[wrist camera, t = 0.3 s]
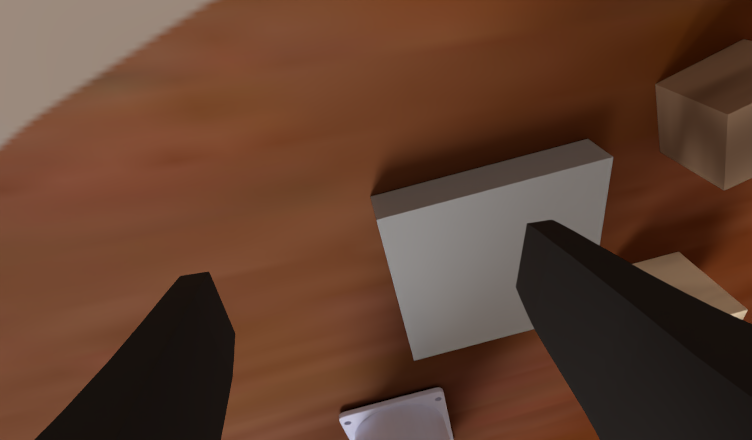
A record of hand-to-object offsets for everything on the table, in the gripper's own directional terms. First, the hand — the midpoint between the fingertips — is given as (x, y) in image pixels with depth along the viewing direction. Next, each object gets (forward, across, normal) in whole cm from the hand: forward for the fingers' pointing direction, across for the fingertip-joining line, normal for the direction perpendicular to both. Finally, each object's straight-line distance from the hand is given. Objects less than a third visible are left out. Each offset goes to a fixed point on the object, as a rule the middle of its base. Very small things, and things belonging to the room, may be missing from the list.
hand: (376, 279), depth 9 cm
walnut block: (+10, -17, +1) cm, 20 cm away
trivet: (+10, -7, +9) cm, 15 cm away
